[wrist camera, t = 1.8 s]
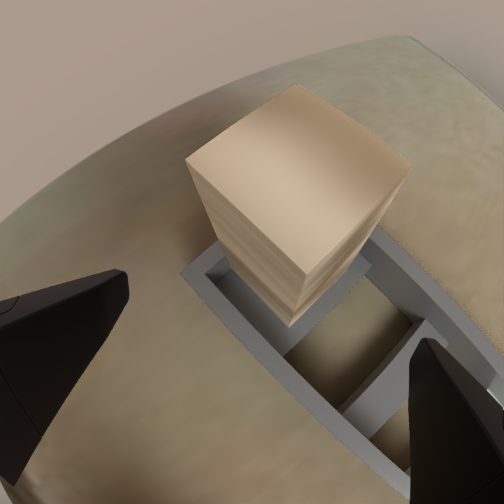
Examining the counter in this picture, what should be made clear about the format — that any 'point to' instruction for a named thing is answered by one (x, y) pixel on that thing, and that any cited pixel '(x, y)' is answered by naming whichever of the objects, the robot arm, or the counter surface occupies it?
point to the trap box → (386, 373)
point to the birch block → (295, 196)
